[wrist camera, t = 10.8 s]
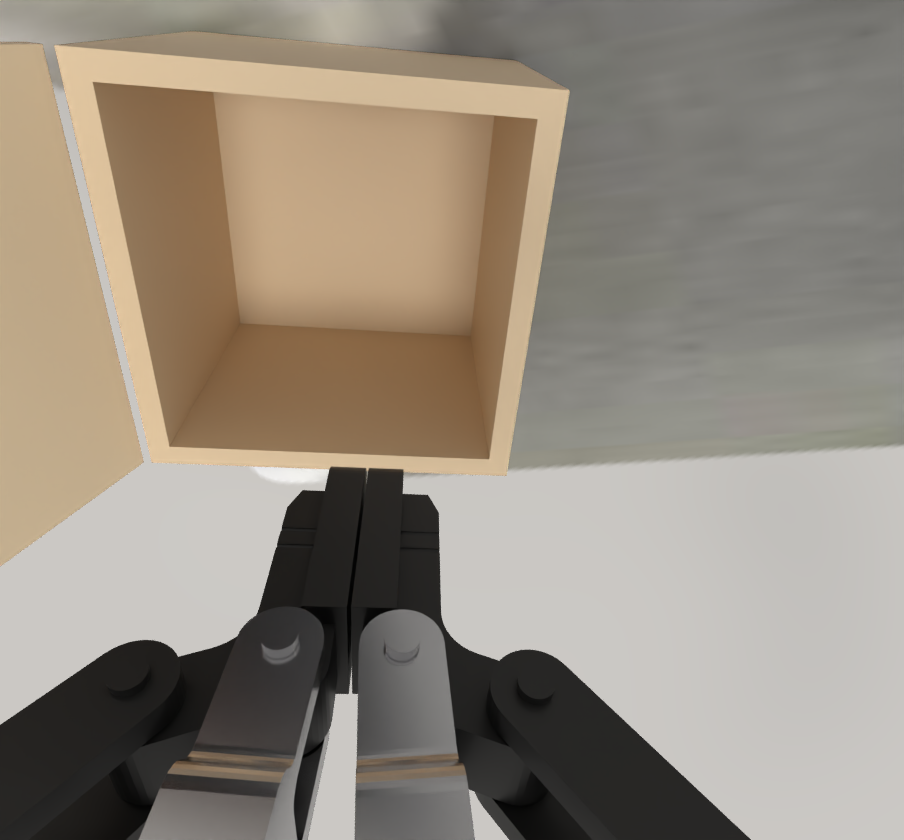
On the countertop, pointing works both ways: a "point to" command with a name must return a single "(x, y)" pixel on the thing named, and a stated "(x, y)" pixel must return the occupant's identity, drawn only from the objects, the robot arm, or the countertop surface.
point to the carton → (318, 244)
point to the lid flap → (50, 324)
